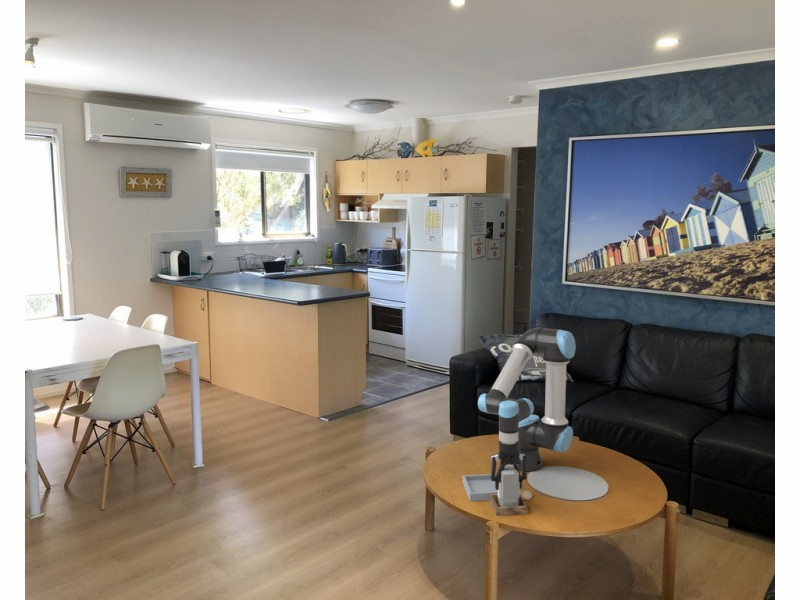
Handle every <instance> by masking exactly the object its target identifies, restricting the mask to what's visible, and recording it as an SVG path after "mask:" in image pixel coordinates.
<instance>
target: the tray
mask: <svg viewBox="0 0 800 600" xmlns="http://www.w3.org/2000/svg"><path fill="white" fill-rule="evenodd" d="M496 474H497V473H495V477H496ZM461 476H462V485H463V487H464V489H465V492H466V494H467V498H468V499H469V501H470V502H475V501H476V502H477V501H490V494H498V490H496V488H495V481H492V480H491V478H490V476H491V473H487V474H485V473H484V474H463V475H461Z"/></svg>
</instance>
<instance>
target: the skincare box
mask: <svg viewBox="0 0 800 600" xmlns="http://www.w3.org/2000/svg"><path fill="white" fill-rule="evenodd" d="M499 466H500V464H499V465H498V467H499ZM500 482H501V499H499V497H498V502H497V503H498V505H499V507H511V506H519V502H518V490H519V473H518V472H517V470H515V468H514V466H513V465H509V464H508V465H506V466H505V467H504V470H503V471H501V478H500Z"/></svg>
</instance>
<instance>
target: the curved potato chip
mask: <svg viewBox="0 0 800 600" xmlns="http://www.w3.org/2000/svg"><path fill="white" fill-rule="evenodd" d="M519 493H520V495H521V496H522V498H523V500H524V501H528V500H531V499H532V498H533V497H534V496H533V492H531V491H530V490H528V489H519Z"/></svg>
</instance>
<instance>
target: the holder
mask: <svg viewBox="0 0 800 600" xmlns="http://www.w3.org/2000/svg"><path fill="white" fill-rule="evenodd" d="M489 503H490V504H491V507H492V509H493V511H494V513H495V515H496V516H512V515H513V516H514V515H515V516H516V515H528V505H527V503H526V502H525V500H523V498H522V496H521V495H520V493H519V498H518V506H511V507H500V506H498V504H497V503H498V494H490V500H489Z"/></svg>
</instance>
